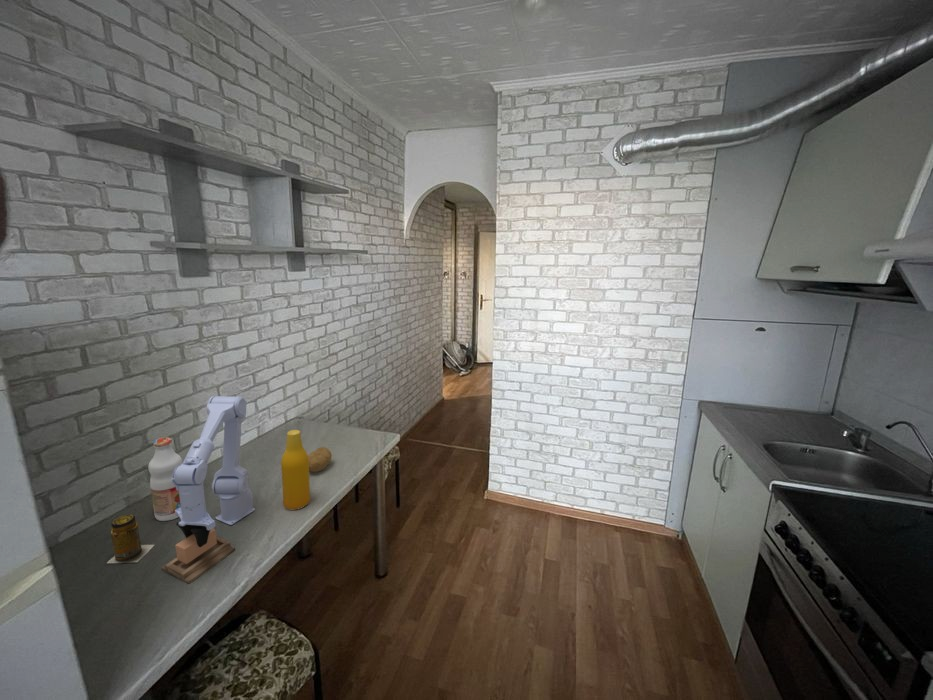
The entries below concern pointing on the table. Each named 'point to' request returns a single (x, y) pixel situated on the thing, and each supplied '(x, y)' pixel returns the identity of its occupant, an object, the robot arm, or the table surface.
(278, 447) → the table surface
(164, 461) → the fruit juice
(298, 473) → the yellow bottle
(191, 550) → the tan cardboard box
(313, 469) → the potato
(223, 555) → the cradle jig
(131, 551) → the condiment
